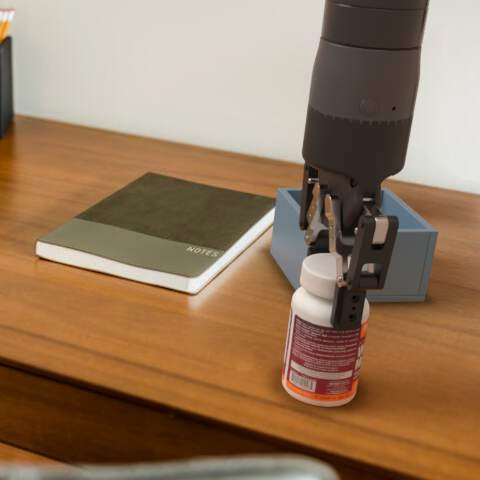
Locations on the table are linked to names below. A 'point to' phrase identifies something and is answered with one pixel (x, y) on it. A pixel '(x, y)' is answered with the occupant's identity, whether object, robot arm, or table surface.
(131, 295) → the table surface
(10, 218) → the table surface
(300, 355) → the pill bottle
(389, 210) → the bin
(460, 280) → the table surface
